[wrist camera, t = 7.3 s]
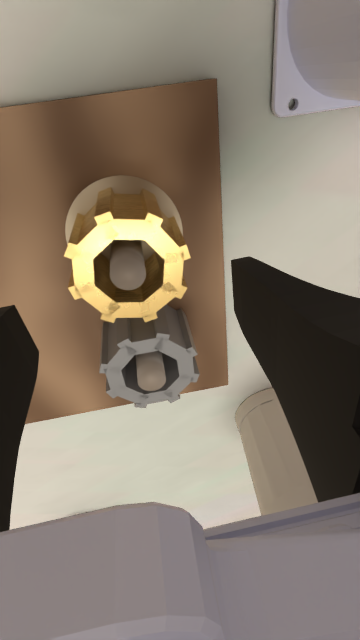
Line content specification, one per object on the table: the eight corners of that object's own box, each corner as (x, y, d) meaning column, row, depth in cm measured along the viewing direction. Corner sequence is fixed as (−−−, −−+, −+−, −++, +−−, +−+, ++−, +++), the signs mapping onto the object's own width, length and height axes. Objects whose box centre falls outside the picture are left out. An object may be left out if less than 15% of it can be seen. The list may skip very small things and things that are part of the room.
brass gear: (181, 190, 18) (195, 214, 15) (173, 284, 21) (183, 321, 18) (69, 184, 17) (58, 209, 14) (79, 284, 20) (71, 323, 17)
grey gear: (182, 289, 21) (194, 326, 18) (190, 355, 25) (202, 396, 21) (93, 304, 21) (89, 345, 18) (113, 369, 24) (113, 414, 21)
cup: (317, 416, 33) (400, 553, 24) (244, 448, 35) (294, 591, 25) (296, 367, 29) (387, 511, 19) (212, 406, 30) (258, 560, 20)
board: (210, 78, 16) (248, 77, 12) (224, 374, 28) (246, 433, 23) (-135, 126, 15) (-245, 145, 11) (28, 411, 27) (10, 480, 22)
